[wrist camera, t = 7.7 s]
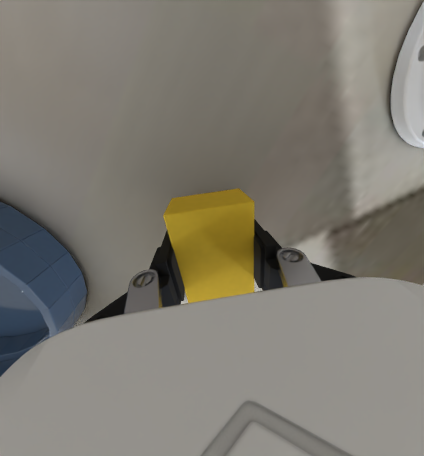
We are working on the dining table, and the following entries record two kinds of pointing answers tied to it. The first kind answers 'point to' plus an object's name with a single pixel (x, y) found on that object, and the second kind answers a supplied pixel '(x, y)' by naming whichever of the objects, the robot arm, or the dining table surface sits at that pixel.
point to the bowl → (34, 286)
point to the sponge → (213, 243)
